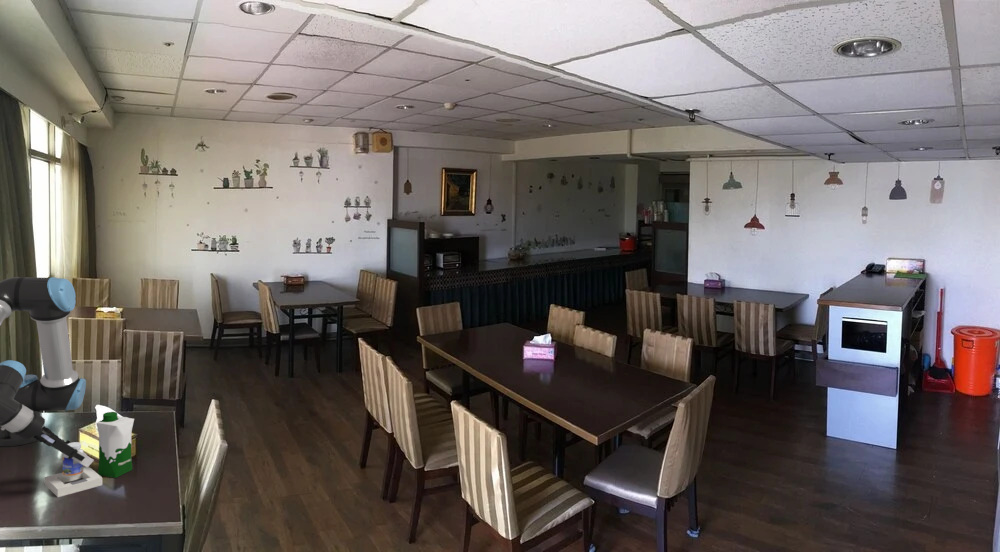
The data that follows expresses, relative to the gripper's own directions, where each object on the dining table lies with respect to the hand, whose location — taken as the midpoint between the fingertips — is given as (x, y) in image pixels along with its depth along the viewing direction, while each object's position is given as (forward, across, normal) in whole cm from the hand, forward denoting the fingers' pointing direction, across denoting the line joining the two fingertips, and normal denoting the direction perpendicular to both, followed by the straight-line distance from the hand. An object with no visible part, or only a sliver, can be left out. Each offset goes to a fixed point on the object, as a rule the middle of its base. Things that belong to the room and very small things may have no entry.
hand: (86, 460), depth 194 cm
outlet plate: (+3, 0, -7) cm, 8 cm away
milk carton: (+11, -1, +1) cm, 12 cm away
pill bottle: (0, 0, -5) cm, 5 cm away
